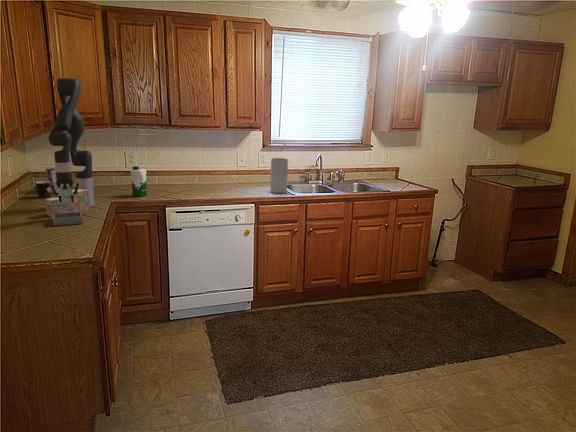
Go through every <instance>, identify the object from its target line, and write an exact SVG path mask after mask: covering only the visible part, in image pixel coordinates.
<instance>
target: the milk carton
mask: <svg viewBox="0 0 576 432" xmlns="http://www.w3.org/2000/svg"><path fill="white" fill-rule="evenodd" d="M129 171H130V175H131V188H132V190H131V194H132V195H131V196H132V197H137V198H143V197H146V196H148V191H147V171H148V170H147V169H143V168H140V167H139V166H135V165H134V166H132V169H130V170H129Z"/></svg>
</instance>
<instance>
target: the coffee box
mask: <svg viewBox="0 0 576 432" xmlns="http://www.w3.org/2000/svg"><path fill="white" fill-rule="evenodd" d="M45 179H46V181H50V182H51V183H50V194H54V192H53V190H52V188H51V184H54V183H56V171H55V167H53V168H49V167H48V168H45ZM59 189H60V188H59V187H58V186H57V185H56V187H55V190H56V192H57V193H59Z"/></svg>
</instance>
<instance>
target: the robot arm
mask: <svg viewBox="0 0 576 432" xmlns="http://www.w3.org/2000/svg"><path fill="white" fill-rule="evenodd" d="M56 90H57V94H58V97H59V101H60V103H61V104H60V105H61V108H60V109H59V110H58V112H57V114H56V118H55V119H56V120H55V123H54V125H53V128H52V129H51V131H50V132H49V134H48V142H49V144H50V145H51V146H54V147H62V149H61V150H55V151H54V154H53V155H54V162H55V163H54V168H55V171H56V183H54V184H51V188H52V190H53V192H54V193H53V194H54V196H57V197H59V202H61V203H62V199H61V189H66V188H68V189H70V193H71V202H73V201H74V194H77V191H78V190H79V189H84V190H88V196H89V208H90V207H94V206H95V191H94V189H95V188H94V179H93V178H94V177H93V156H92V152H91V151H90V150H78V143H79V141H80V139H81V138H82V136H83V134H84V131H85V126H84V120H83V117H82V115H81V114H80V113H79V111H78V110H77V109H76V107H77V105H78V102H79V98H80V96H81V93H82V84H81V82H80V80H79V79H76V78H69V77H68V78H67V77H66V78H65V77H58V79H57V80H56ZM71 164H72V165H73V166H74V167H85V168H84V169H83V170H81V171H80V170H79V171H78V172H75V181H74V180H73V172H72V171H73V170H72V165H71ZM56 185H57V186H58V187H59V188H60V189H59V193H57V192H56V190H55V187H56ZM73 185H74V187H75V188H74V190H75V191H74V192H73V191H72V190H73V189H72V186H73Z"/></svg>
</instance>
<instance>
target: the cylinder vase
mask: <svg viewBox="0 0 576 432" xmlns="http://www.w3.org/2000/svg"><path fill="white" fill-rule="evenodd" d="M288 163H289V159H288V158H283V157H282V158H281V157H273V158H271V161H270V192H271V193H272V192H273V193H274V194H285V193H287V191H288V173H289V172H288V169H289V167H288V166H289V164H288Z"/></svg>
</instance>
